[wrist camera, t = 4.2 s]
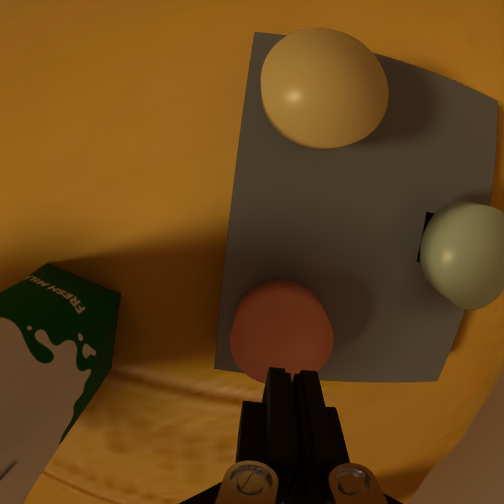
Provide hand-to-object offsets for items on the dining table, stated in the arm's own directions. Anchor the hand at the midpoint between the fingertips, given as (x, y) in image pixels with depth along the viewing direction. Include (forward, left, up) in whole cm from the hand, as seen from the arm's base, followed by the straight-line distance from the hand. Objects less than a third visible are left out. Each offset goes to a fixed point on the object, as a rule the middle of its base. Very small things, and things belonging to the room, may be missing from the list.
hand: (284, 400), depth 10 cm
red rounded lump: (+1, 0, -10) cm, 10 cm away
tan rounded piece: (-11, 0, -8) cm, 14 cm away
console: (-5, +5, -11) cm, 13 cm away
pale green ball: (-5, +9, -8) cm, 14 cm away
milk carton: (+5, -15, -11) cm, 19 cm away
